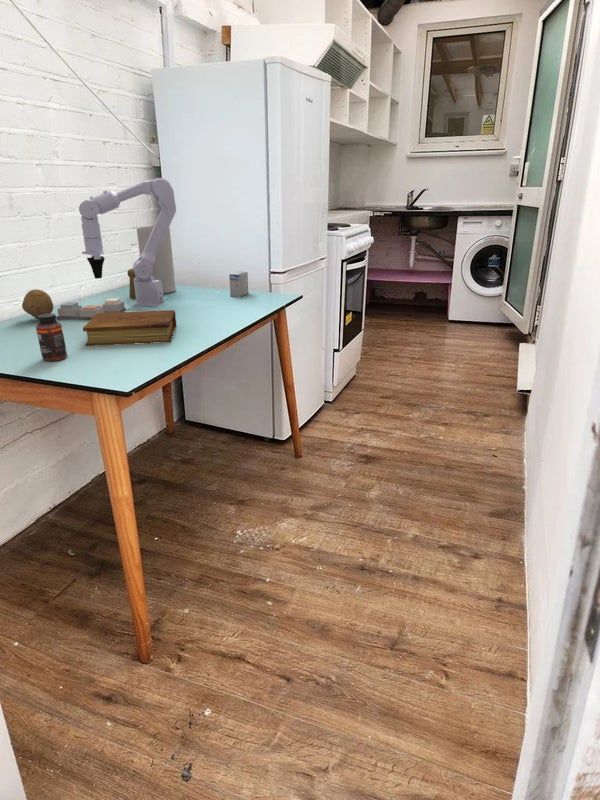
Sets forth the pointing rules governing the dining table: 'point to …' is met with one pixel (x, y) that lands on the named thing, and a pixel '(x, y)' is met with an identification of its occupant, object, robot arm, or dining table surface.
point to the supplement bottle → (51, 338)
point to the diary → (130, 327)
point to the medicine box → (238, 284)
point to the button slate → (69, 305)
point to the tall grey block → (160, 258)
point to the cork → (132, 283)
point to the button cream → (112, 301)
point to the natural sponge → (37, 303)
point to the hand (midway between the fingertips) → (98, 278)
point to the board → (89, 311)
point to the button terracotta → (92, 307)
